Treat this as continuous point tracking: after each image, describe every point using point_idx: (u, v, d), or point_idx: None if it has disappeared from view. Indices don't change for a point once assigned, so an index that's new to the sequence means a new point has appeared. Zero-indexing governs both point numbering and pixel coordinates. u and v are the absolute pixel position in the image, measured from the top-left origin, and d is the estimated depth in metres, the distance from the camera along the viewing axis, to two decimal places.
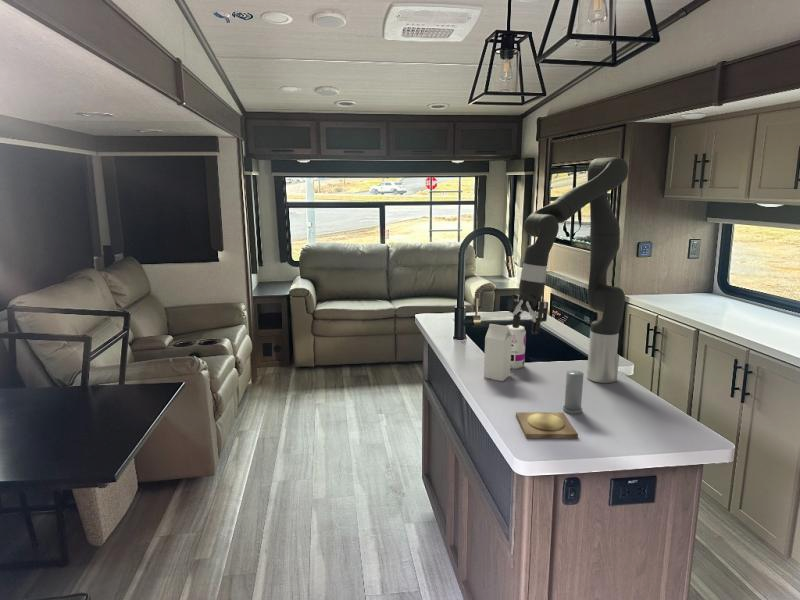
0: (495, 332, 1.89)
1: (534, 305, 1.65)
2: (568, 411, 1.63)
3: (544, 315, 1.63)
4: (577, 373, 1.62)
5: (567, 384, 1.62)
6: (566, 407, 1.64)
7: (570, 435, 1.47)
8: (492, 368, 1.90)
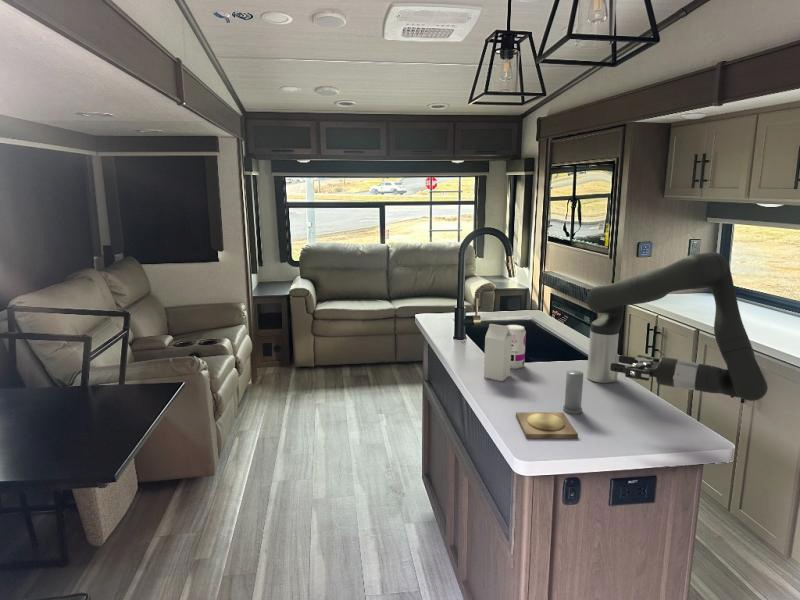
0: (495, 332, 1.89)
1: None
2: (568, 411, 1.63)
3: None
4: (577, 373, 1.62)
5: (567, 384, 1.62)
6: (566, 407, 1.64)
7: (570, 435, 1.47)
8: (492, 368, 1.90)
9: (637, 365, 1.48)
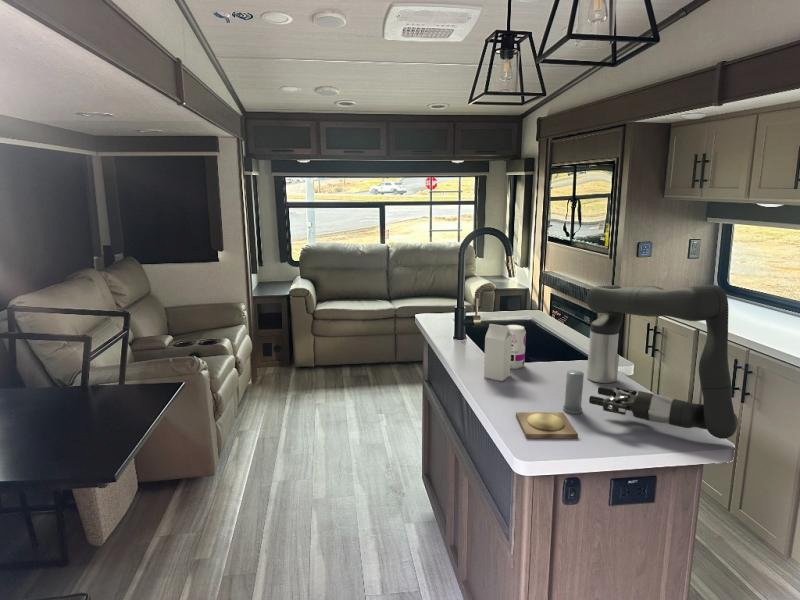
0: (495, 332, 1.89)
1: None
2: (568, 411, 1.63)
3: None
4: (577, 373, 1.62)
5: (567, 384, 1.62)
6: (566, 407, 1.64)
7: (570, 435, 1.47)
8: (492, 368, 1.90)
9: (614, 399, 1.53)
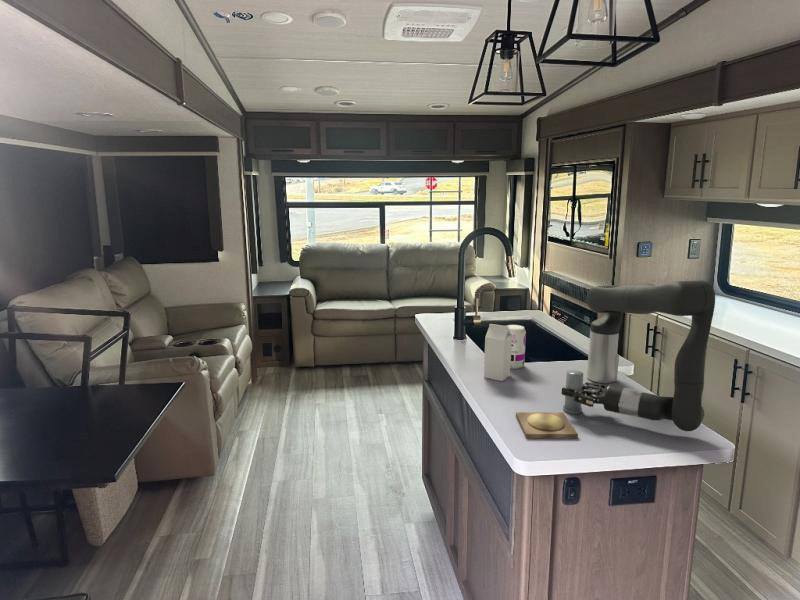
0: (495, 332, 1.89)
1: None
2: (568, 411, 1.63)
3: None
4: (577, 373, 1.62)
5: (567, 384, 1.62)
6: (566, 407, 1.64)
7: (570, 435, 1.47)
8: (492, 368, 1.90)
9: (585, 391, 1.58)
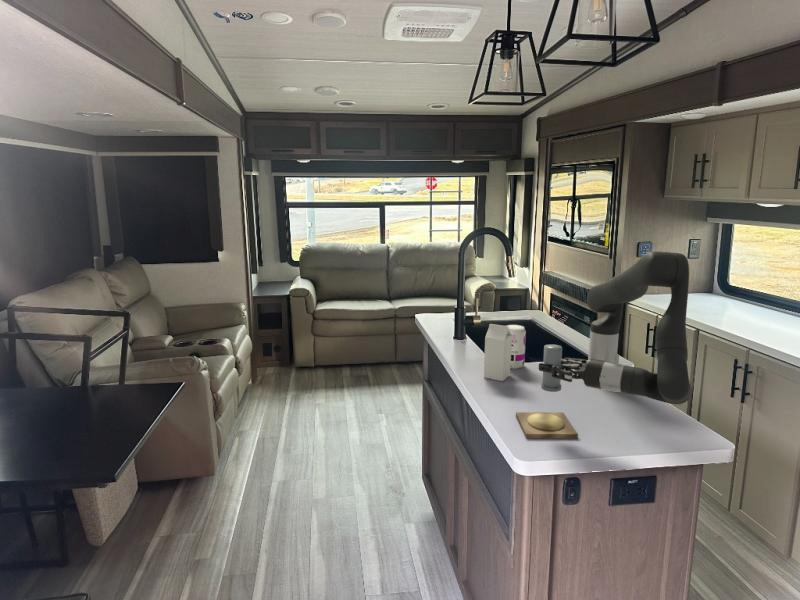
0: (495, 332, 1.89)
1: None
2: (546, 388, 1.50)
3: None
4: (555, 347, 1.49)
5: (545, 359, 1.50)
6: (544, 384, 1.51)
7: (570, 435, 1.47)
8: (492, 368, 1.90)
9: (564, 366, 1.46)
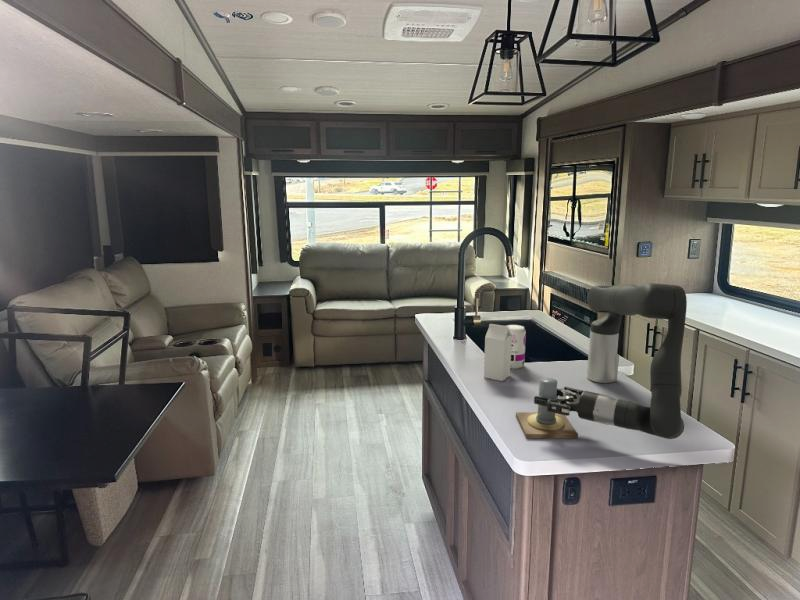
0: (495, 332, 1.89)
1: None
2: (541, 421, 1.52)
3: None
4: (550, 381, 1.51)
5: (540, 392, 1.51)
6: (539, 417, 1.53)
7: (570, 435, 1.47)
8: (492, 368, 1.90)
9: (559, 399, 1.46)
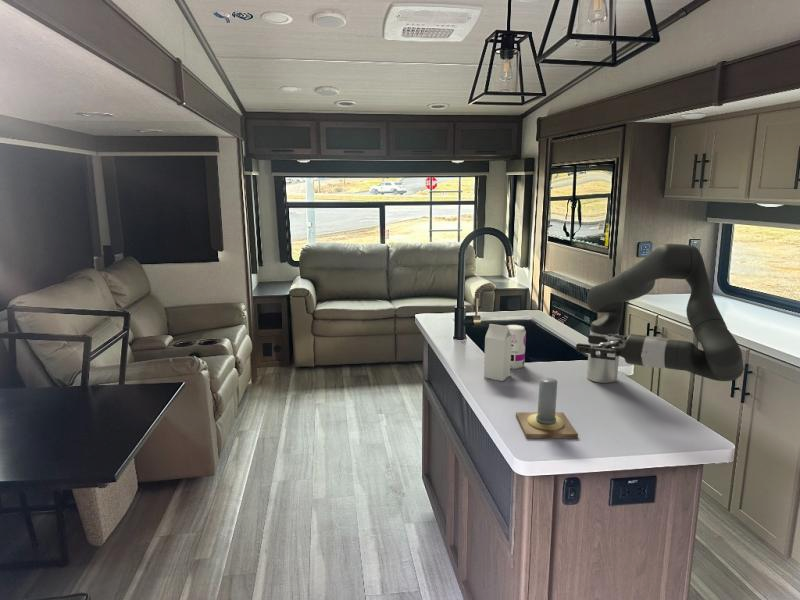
0: (495, 332, 1.89)
1: None
2: (541, 421, 1.52)
3: None
4: (550, 380, 1.51)
5: (540, 392, 1.51)
6: (539, 417, 1.53)
7: (570, 435, 1.47)
8: (492, 368, 1.90)
9: (603, 344, 1.37)
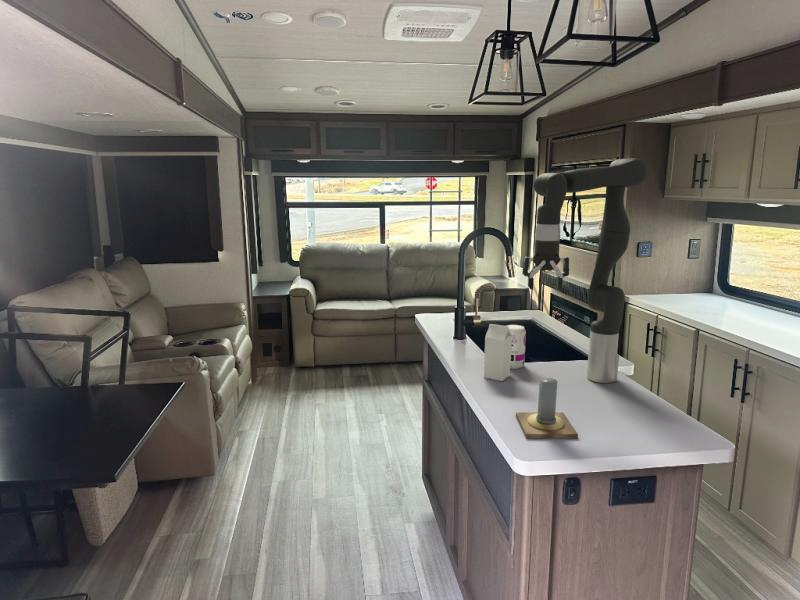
0: (495, 332, 1.89)
1: (557, 262, 1.71)
2: (541, 421, 1.52)
3: (565, 269, 1.73)
4: (550, 380, 1.51)
5: (540, 392, 1.51)
6: (539, 417, 1.53)
7: (570, 435, 1.47)
8: (492, 368, 1.90)
9: (533, 267, 1.74)
